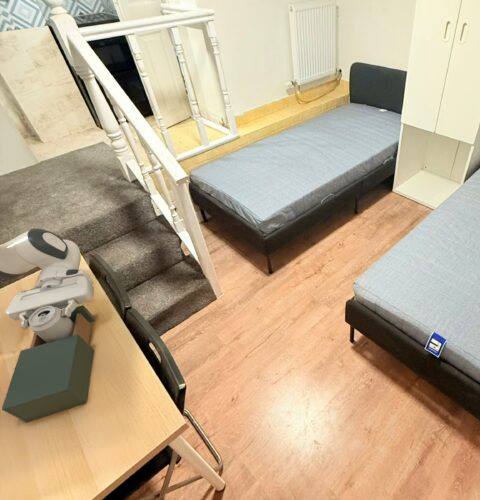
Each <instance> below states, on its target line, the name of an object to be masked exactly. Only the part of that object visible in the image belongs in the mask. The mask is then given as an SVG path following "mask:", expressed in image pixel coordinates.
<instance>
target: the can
mask: <svg viewBox="0 0 480 500" xmlns="http://www.w3.org/2000/svg"><path fill="white" fill-rule="evenodd" d="M61 313H62V309H59V308H57V307H53V306H45V307H42V308H40V309H38V310H36V311H35V312H34V313H33V314H32V315H31V316H30V318H29V324H30V325H29V327H30V328H29V329H30V330H31V331H32V332H34V333H36V334H37V335H38V336H40V337H41V338H42V339H43V340H44V341H46V342H47V343H49V342H53V341H57V340H60V339H64V338H67V337H71V336H73V331H74V326H75V323H74V322H73V321H72V320H71V319H70V318H69V317H67V318H63V317H62V316H61Z"/></svg>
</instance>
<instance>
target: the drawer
mask: <svg viewBox="0 0 480 500" xmlns="http://www.w3.org/2000/svg"><path fill="white" fill-rule="evenodd" d="M69 318H70V319H71V320H72V321H73V322H74V323H75V326H74V331H73V336H74V335H79V336H80V337H81V338H82V339H83V340H84V341H85V342H86V343H87V344H88V345H89V342H90V336H91V329H92V324H91V323H94V322H96V317H95V316H94V315H93V314H92V313H91V312H90V311H89V309H88V308H87V307H86V306H85V305H84V304H83V305H82V304H81V305H77V307H76V308H75V309H74V310H73V312H71V316H70V317H69ZM46 343H47V342H46V341H44V340H43V339H42V338H41V337H40V336H38V335H37V334H36V333H35V332H34V333H33V336H32V340H31V343H30V345H29V346H30V347H29V348H32V347H35V346H39V345H42V344H46Z"/></svg>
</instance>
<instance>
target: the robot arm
mask: <svg viewBox="0 0 480 500" xmlns="http://www.w3.org/2000/svg"><path fill="white" fill-rule="evenodd" d="M81 260H82V259H81V250H80V247H79V246H78V244H77V243H75V242H74V241H72V240H68V239H65V238H63V239H62V237H60V236H59V235H58V234H56V233H54V232H53V231H50V230H47V229H44V228H40V227H39V228H37V227H34V228H31V229H29V230H27V231H25V232H23V233H20V234H19V235H16V237H14V238H12V239H10V240H8V241H6V242H4V243H2V244H0V278H1V279H6V280H17V279H19V278H21V277H22V276H24V275H25V274H27V273H29V272H30V271H31V270H33V269H35V268H37V267H38V268H39V269H40V273H39V276H38V278H37V281H36V285H35V287H34V288H31V289H28V290H23V291H21V292H19V293H17V294H16V295H14V297H13V298H12V299H11V300H10V302H9V304H8V306H7V307H6V310H5V314H6V316H7V317H8V318H10V319H11V320H13V321H15V322H16V321H17V322H18V321H21V322H20V323H21V324H20V327H21V328H23V329H25V330H27V329H30V327H29V325H30V324H29V318H30V316H31V315H32V314H33V313H34V312H35V311H36V310H38V309H40V308H42V307H45V306H53V307H57V308H59V309H60V310H61V311H62V313H61V316H62V317H63V318H67V317H70V316H71V312H73V310H74V309H75V308H76V307H78V306H79V305H82V304H85V303H90V302H91V301H92V300H93V299H94V295H95V288H94V281H93V279H92V277H90V275H89V274H88V273H87V272H86V271H85V270H84V269H83V268H80V267H81V266H80V265H81Z"/></svg>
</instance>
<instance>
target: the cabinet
mask: <svg viewBox="0 0 480 500" xmlns="http://www.w3.org/2000/svg"><path fill="white" fill-rule="evenodd" d="M94 355H95V350H94V348H93V347H92V346H91V345H90V344H89V343H88V344H87V343H86V342H85V341H84V340H83V339H82V338H81V337H80V336H79V335H74V336H71V337H67V338H64V339H60V340H57V341H53V342H49V343H46V344H42V345H39V346H35V347H32V348H30V347H29V348H24V349H21V350H20V352H19V354H18V357H17V360H16V364H15V366H14V370H13V373H12V376H11V379H10V381H9V385H8V388H7V391H6V395H5V397H4V401H3V404H2V407H1V411H3V412H5V413H6V414H9V415H11V416H12V417H15V418H16V419H19V420H20V421H23V422H24V423H29V422H32V421H36V420H39V419H42V418H45V417H48V416H51V415H54V414H57V413H60V412H63V411H66V410H69V409H72V408H76V407H79V406H81V405H86V404H87V403H88V396H89V388H90V383H91V377H92V368H93V363H94Z"/></svg>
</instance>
